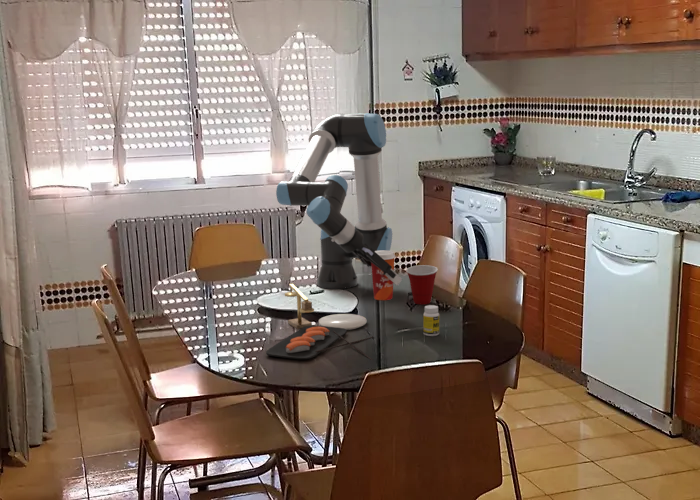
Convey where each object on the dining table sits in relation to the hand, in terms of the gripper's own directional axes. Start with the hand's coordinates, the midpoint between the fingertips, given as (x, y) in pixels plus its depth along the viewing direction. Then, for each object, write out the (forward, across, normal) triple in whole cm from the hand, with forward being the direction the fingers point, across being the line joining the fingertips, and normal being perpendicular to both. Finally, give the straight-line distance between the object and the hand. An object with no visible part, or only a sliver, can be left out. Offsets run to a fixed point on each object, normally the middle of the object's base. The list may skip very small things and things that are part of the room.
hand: (392, 279), depth 259 cm
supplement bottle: (+7, +25, -9) cm, 28 cm away
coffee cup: (+2, 0, -6) cm, 7 cm away
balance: (-14, -4, -30) cm, 33 cm away
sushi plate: (-14, +21, -31) cm, 40 cm away
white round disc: (-6, +2, -22) cm, 23 cm away
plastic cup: (+20, -7, +3) cm, 21 cm away
